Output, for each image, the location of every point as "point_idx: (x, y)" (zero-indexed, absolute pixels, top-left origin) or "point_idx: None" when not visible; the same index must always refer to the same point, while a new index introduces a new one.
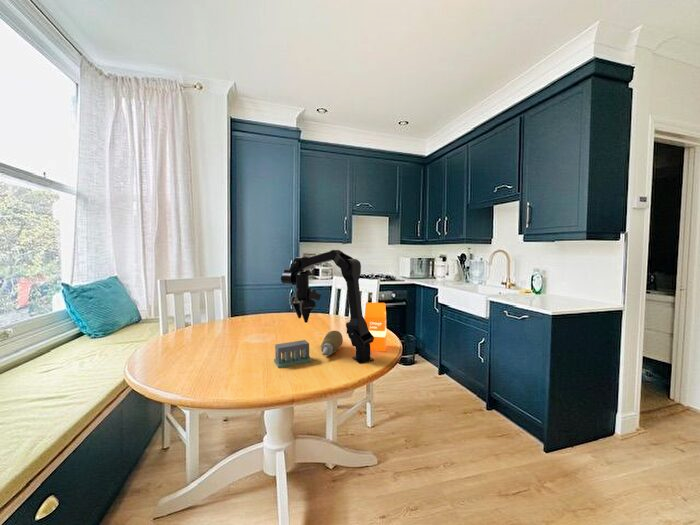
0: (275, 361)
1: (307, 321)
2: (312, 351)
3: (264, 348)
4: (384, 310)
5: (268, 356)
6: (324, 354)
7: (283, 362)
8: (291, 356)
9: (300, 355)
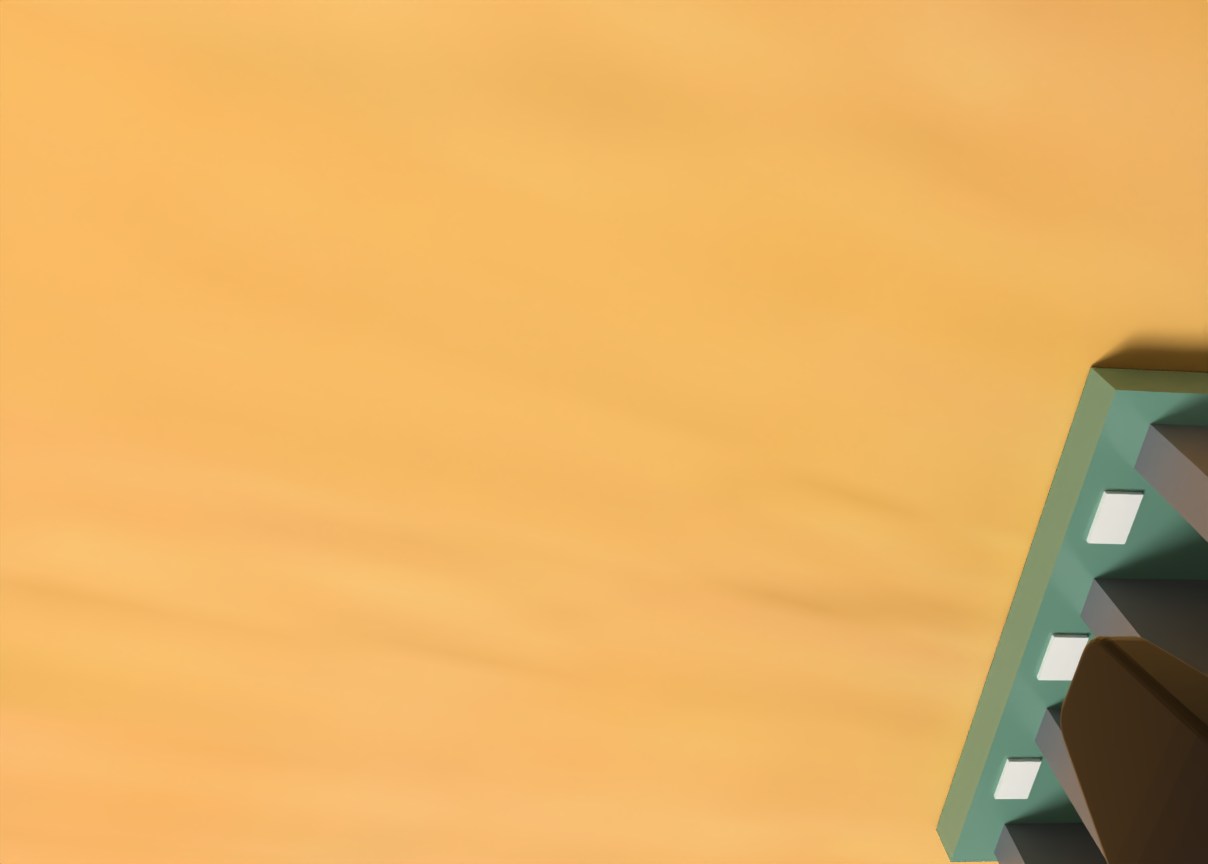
0: None
1: (1177, 667)
2: (946, 142)
3: (207, 844)
4: None
5: (665, 852)
6: None
7: None
8: (1058, 651)
9: (1133, 515)
